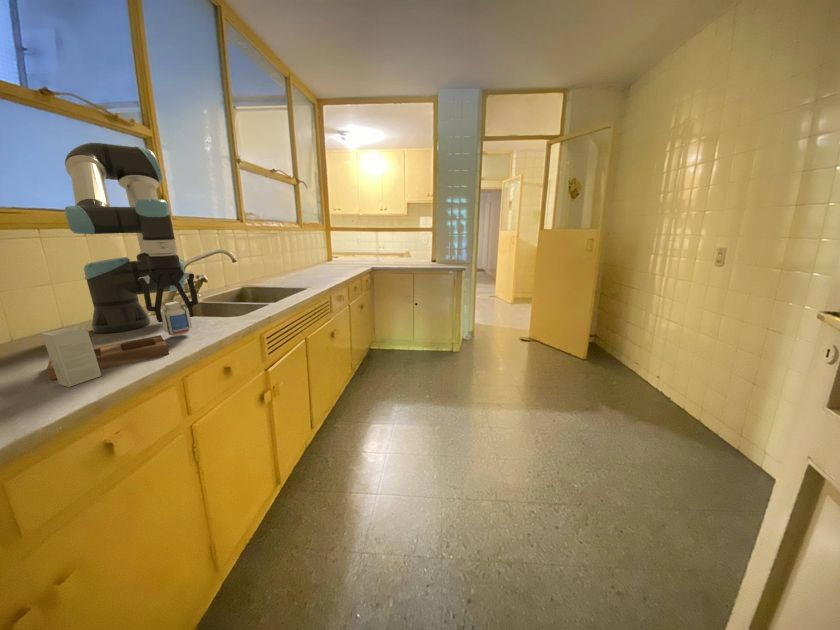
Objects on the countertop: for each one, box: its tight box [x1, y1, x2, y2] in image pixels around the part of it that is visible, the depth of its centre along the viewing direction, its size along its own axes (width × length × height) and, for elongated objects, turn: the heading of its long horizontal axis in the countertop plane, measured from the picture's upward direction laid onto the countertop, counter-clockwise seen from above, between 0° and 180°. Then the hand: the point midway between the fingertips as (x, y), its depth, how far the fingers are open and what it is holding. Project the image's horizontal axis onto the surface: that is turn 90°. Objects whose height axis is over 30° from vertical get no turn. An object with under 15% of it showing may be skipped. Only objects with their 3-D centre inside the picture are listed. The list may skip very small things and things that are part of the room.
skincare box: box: [41, 325, 102, 388], centre depth 74 cm, size 6×4×12 cm
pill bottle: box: [164, 301, 190, 337], centre depth 103 cm, size 6×5×10 cm
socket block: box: [46, 335, 170, 381], centre depth 86 cm, size 11×22×3 cm, turn 134°
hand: (178, 329), depth 104 cm, fingers closed on pill bottle, 5 cm apart
